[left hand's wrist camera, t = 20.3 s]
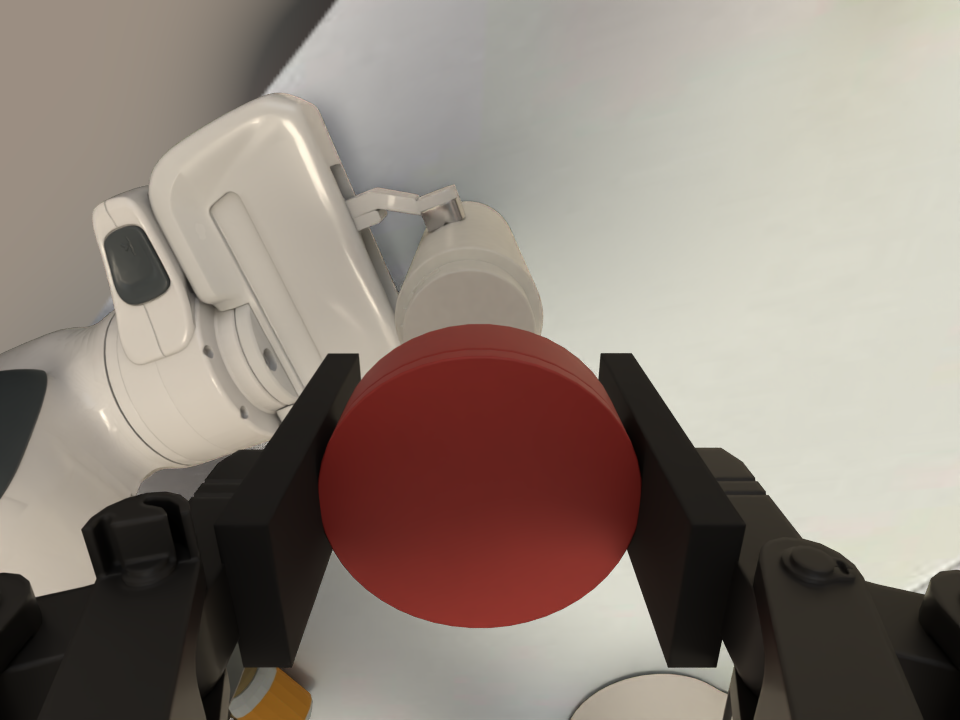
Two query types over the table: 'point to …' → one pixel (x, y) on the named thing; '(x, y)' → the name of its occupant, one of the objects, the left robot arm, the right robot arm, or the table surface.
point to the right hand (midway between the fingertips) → (485, 268)
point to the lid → (479, 478)
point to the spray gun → (269, 697)
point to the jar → (468, 278)
